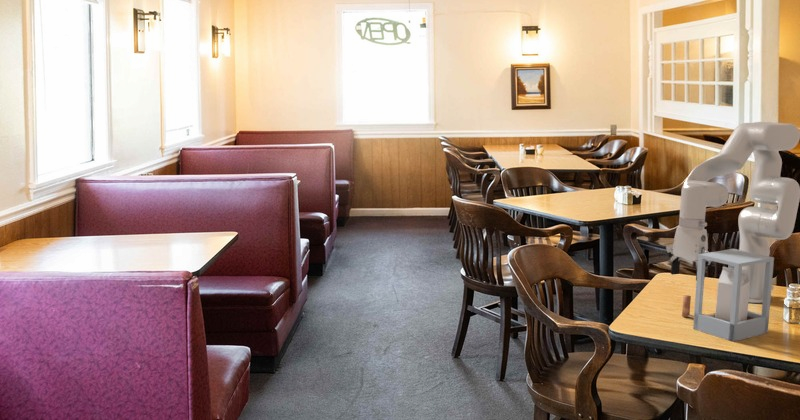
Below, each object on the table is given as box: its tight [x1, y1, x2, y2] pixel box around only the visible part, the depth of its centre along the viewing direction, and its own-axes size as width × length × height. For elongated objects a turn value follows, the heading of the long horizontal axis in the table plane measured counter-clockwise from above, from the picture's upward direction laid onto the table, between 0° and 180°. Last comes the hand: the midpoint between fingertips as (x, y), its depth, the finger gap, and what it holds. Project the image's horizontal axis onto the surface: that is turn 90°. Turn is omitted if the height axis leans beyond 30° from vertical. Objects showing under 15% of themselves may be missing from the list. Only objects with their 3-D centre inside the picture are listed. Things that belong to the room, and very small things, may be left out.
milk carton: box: [715, 266, 750, 322], centre depth 252 cm, size 7×7×19 cm
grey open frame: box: [692, 248, 775, 342], centre depth 252 cm, size 16×14×23 cm
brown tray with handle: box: [681, 294, 755, 320], centre depth 258 cm, size 12×23×6 cm, turn 32°
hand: (687, 277), depth 265 cm, fingers open, 9 cm apart
